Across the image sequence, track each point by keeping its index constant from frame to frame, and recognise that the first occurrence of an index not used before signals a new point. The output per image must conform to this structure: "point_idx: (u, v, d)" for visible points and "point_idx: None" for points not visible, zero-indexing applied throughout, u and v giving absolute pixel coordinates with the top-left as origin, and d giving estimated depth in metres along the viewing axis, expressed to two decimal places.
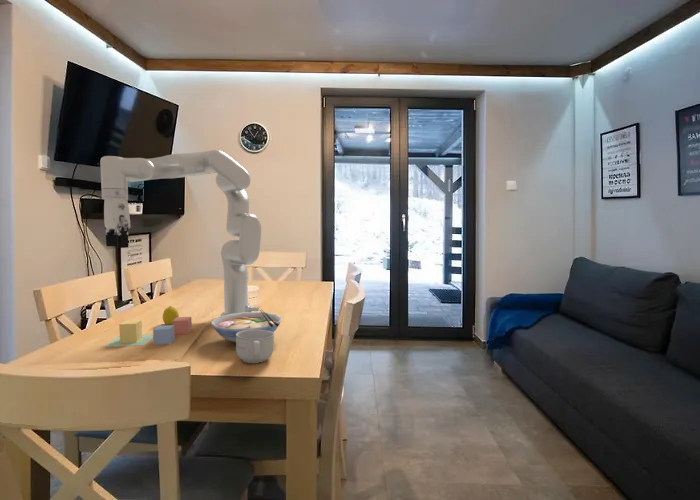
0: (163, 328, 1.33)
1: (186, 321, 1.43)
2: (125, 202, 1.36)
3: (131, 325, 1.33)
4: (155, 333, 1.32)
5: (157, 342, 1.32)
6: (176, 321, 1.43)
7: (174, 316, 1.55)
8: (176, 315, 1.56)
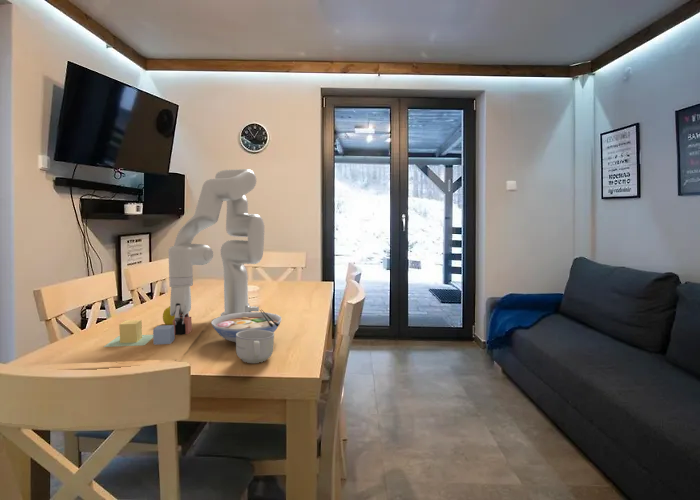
0: (163, 328, 1.33)
1: (186, 321, 1.43)
2: None
3: (131, 325, 1.33)
4: (155, 333, 1.32)
5: (157, 342, 1.32)
6: None
7: (174, 316, 1.55)
8: None
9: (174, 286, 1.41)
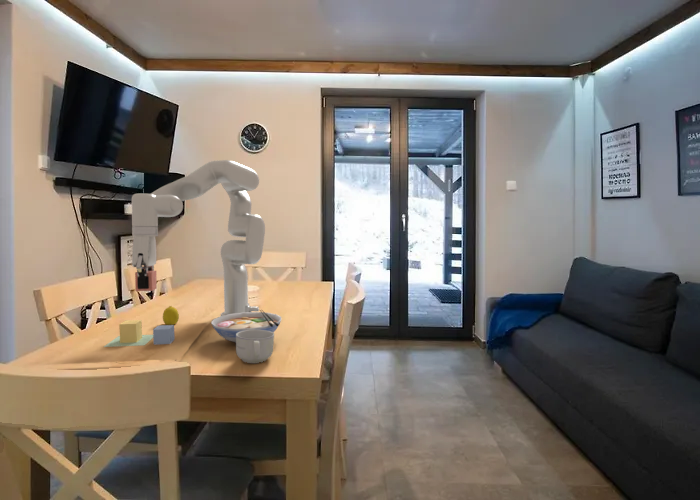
0: (163, 328, 1.33)
1: (150, 273, 1.35)
2: None
3: (131, 325, 1.33)
4: (155, 333, 1.32)
5: (157, 342, 1.32)
6: None
7: (174, 316, 1.55)
8: (176, 315, 1.56)
9: (137, 235, 1.33)
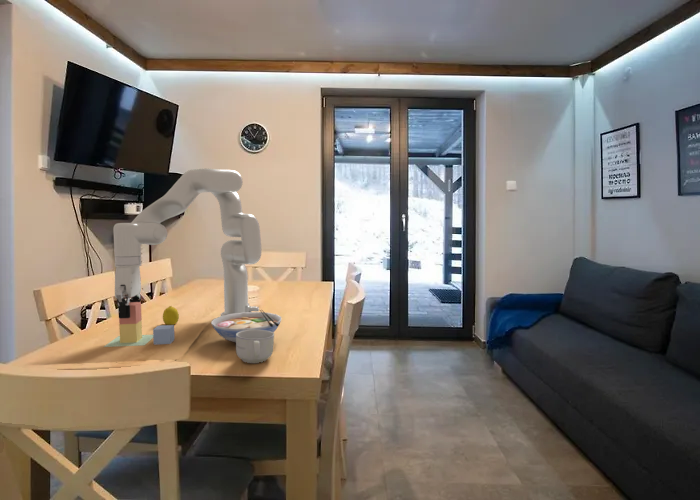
0: (163, 328, 1.33)
1: (133, 306, 1.33)
2: None
3: (131, 325, 1.33)
4: (155, 333, 1.32)
5: (157, 342, 1.32)
6: None
7: (174, 316, 1.55)
8: (176, 315, 1.56)
9: (119, 266, 1.30)
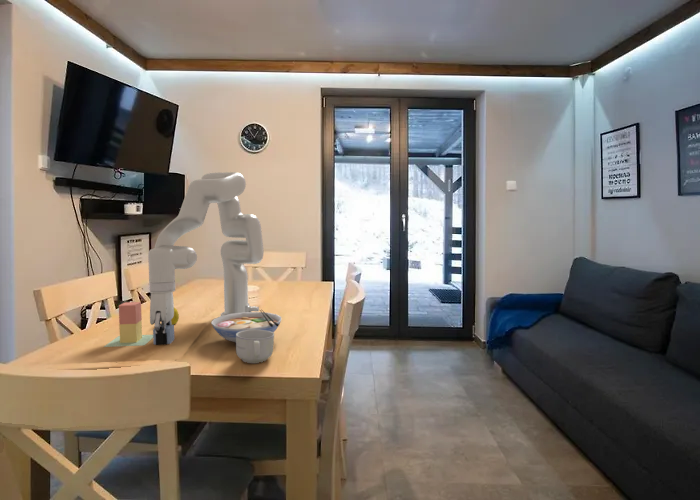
0: None
1: (133, 306, 1.33)
2: None
3: (131, 325, 1.33)
4: None
5: None
6: (122, 306, 1.33)
7: (174, 316, 1.55)
8: (176, 315, 1.55)
9: (154, 292, 1.30)
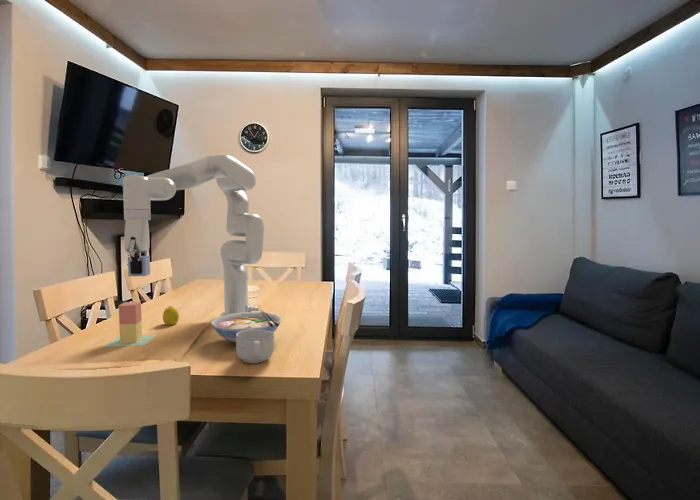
0: None
1: (133, 306, 1.33)
2: None
3: (131, 325, 1.33)
4: None
5: None
6: (122, 306, 1.33)
7: (174, 316, 1.55)
8: (176, 315, 1.56)
9: (129, 218, 1.29)
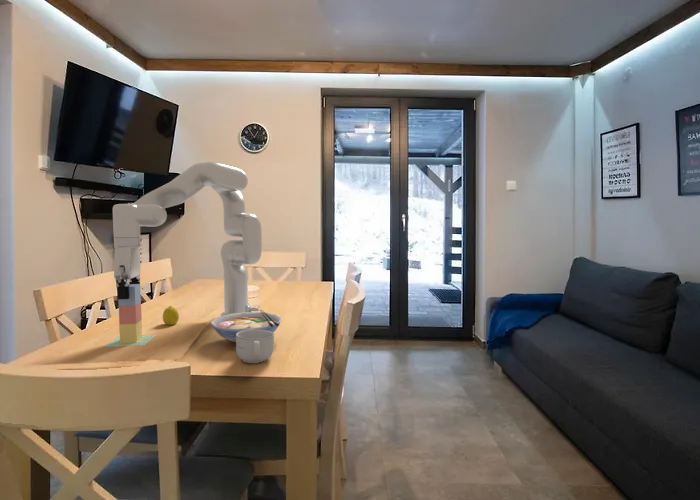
0: None
1: (133, 306, 1.33)
2: None
3: (131, 325, 1.33)
4: None
5: (122, 299, 1.32)
6: (122, 306, 1.33)
7: (174, 316, 1.55)
8: (176, 315, 1.55)
9: (118, 247, 1.30)
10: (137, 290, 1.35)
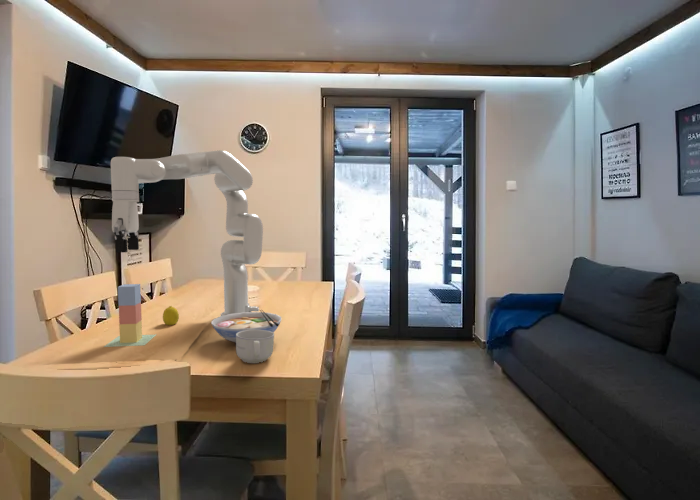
0: (128, 286, 1.33)
1: (133, 306, 1.33)
2: None
3: (131, 325, 1.33)
4: (120, 291, 1.32)
5: (122, 299, 1.32)
6: (122, 306, 1.33)
7: (174, 316, 1.55)
8: (176, 315, 1.55)
9: (116, 200, 1.29)
10: (137, 290, 1.35)
